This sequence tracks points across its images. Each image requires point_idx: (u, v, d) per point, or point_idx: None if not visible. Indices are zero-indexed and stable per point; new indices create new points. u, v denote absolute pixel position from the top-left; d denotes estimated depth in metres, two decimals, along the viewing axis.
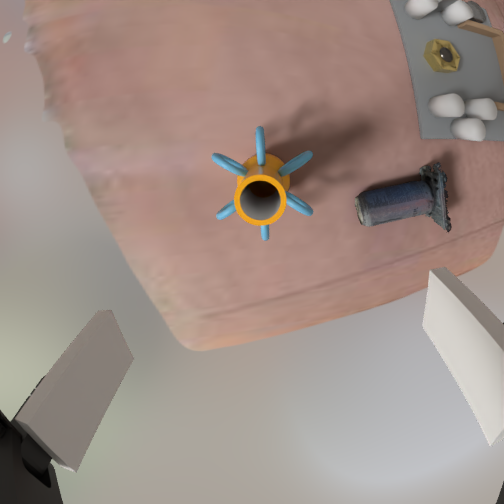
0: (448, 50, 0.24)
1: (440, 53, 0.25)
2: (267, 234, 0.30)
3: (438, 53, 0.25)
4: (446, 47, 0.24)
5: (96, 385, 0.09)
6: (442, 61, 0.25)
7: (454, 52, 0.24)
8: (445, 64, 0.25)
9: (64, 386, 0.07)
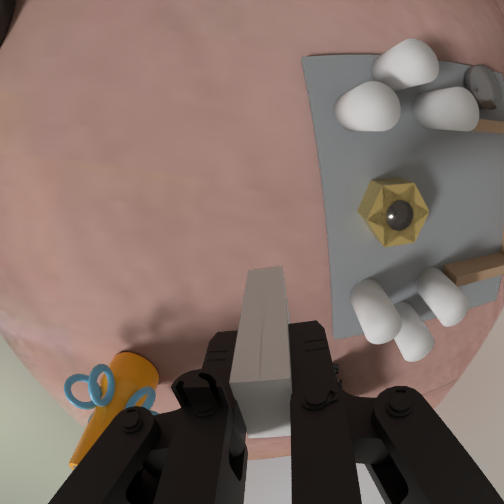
0: (407, 204, 0.18)
1: (387, 217, 0.19)
2: None
3: (382, 215, 0.19)
4: (404, 199, 0.18)
5: None
6: (387, 232, 0.19)
7: (419, 205, 0.18)
8: (392, 236, 0.19)
9: None
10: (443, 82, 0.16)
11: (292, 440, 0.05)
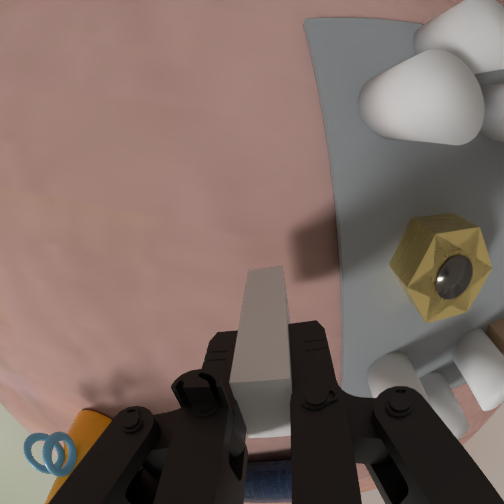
0: (466, 260, 0.11)
1: (437, 281, 0.11)
2: None
3: (430, 279, 0.11)
4: (463, 253, 0.10)
5: None
6: (434, 303, 0.11)
7: (481, 260, 0.10)
8: (440, 308, 0.11)
9: None
10: None
11: (292, 440, 0.05)
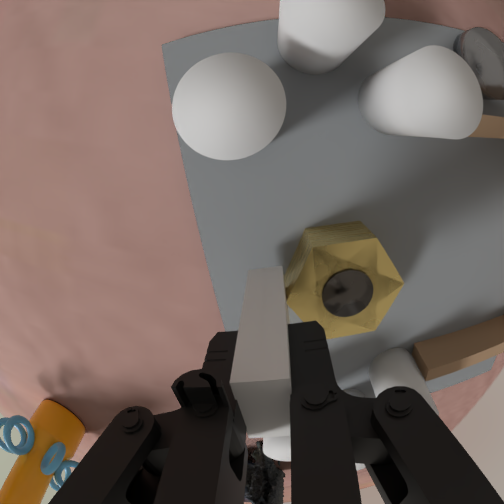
0: (362, 275, 0.11)
1: (323, 297, 0.12)
2: None
3: (316, 294, 0.12)
4: (356, 268, 0.11)
5: None
6: (325, 320, 0.12)
7: (386, 274, 0.11)
8: (335, 325, 0.12)
9: None
10: None
11: (292, 440, 0.05)
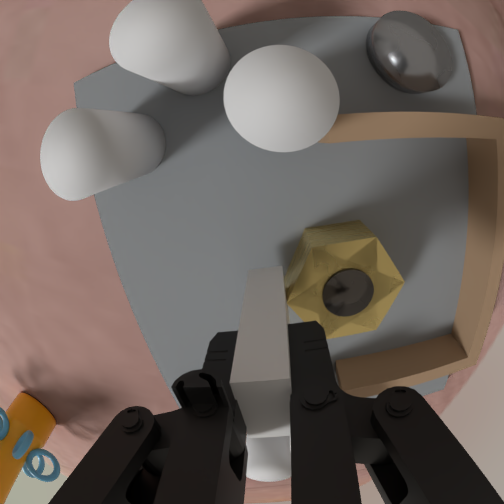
0: (363, 274, 0.11)
1: (323, 297, 0.12)
2: (33, 477, 0.18)
3: (316, 294, 0.12)
4: (356, 267, 0.11)
5: None
6: (326, 319, 0.12)
7: (386, 273, 0.11)
8: (336, 325, 0.12)
9: None
10: (316, 54, 0.10)
11: (292, 440, 0.05)
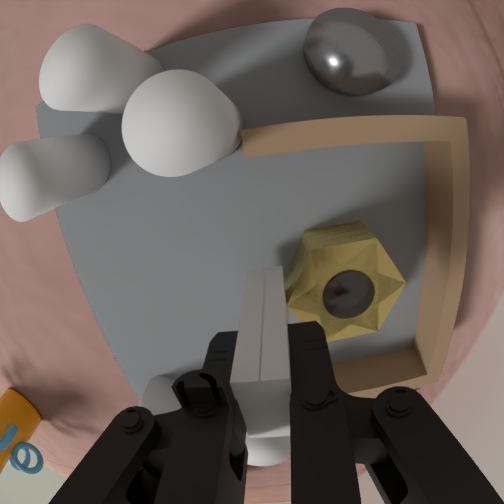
0: (363, 276, 0.11)
1: (324, 300, 0.12)
2: (19, 469, 0.18)
3: (317, 297, 0.12)
4: (356, 269, 0.11)
5: None
6: (327, 322, 0.12)
7: (387, 274, 0.11)
8: (337, 327, 0.12)
9: None
10: (248, 64, 0.10)
11: (291, 440, 0.05)
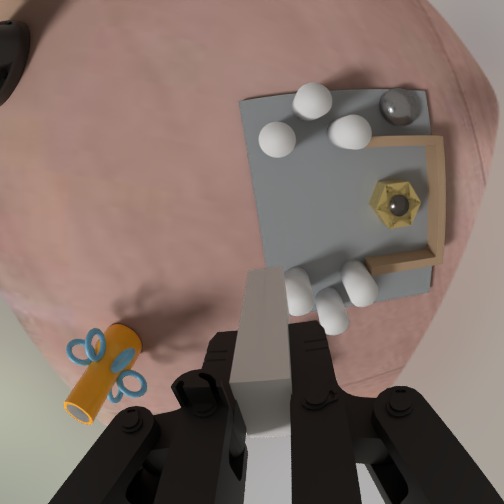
0: (404, 197, 0.26)
1: (390, 206, 0.26)
2: (114, 402, 0.33)
3: (387, 206, 0.26)
4: (401, 193, 0.25)
5: None
6: (391, 218, 0.26)
7: (413, 197, 0.25)
8: (395, 221, 0.27)
9: None
10: (358, 107, 0.25)
11: (292, 440, 0.05)
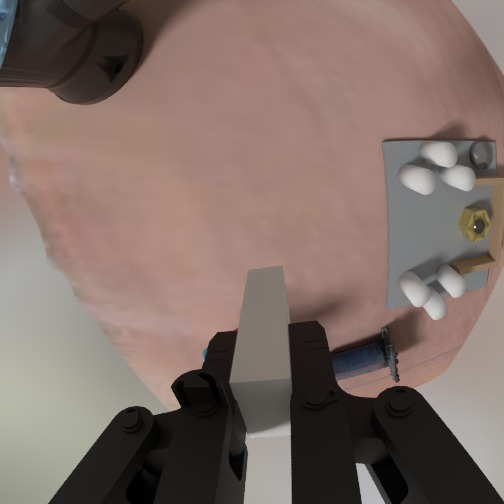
0: (482, 220, 0.31)
1: (474, 227, 0.32)
2: None
3: (472, 226, 0.32)
4: (481, 218, 0.31)
5: None
6: (474, 235, 0.32)
7: (487, 220, 0.31)
8: (475, 237, 0.32)
9: None
10: (457, 154, 0.31)
11: (292, 440, 0.05)
